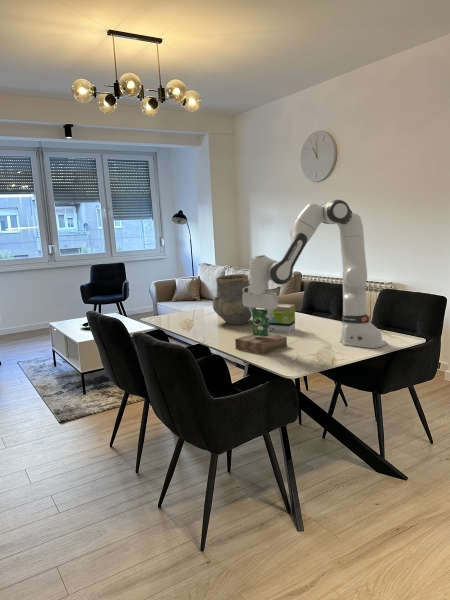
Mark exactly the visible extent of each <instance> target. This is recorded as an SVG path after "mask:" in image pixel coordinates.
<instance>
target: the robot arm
mask: <svg viewBox="0 0 450 600" xmlns="http://www.w3.org/2000/svg"><path fill="white" fill-rule="evenodd" d="M321 224H326V225H335V224H336V225H337V226H338V228H339V236H340V237H339V238H340V252H341V261H342V262H341V263H342V300H343V301H342V315H341V321H342V330H341V335H340V338H339V342H340V343H342V345H343V346H351V347H358V348H359V347H360V348H368V349H369V348H370V349H378V348H381V347H384V346H386V345H387V344H388V343H387V342H388V341H387V340H384V339H383V336H382V332H381V330H380V329H378V328H377V326H375V325H374V324H373V323H372V322H371V321H370V319H371V317H372V316H371V315H370V316H368V314H367V294H366V283H367V280H368V270H367V269H368V268H367V267H368V266H367V258H366V252H365V251H366V249H365V237H364V234H365V233H364V227H363V222H362V218H361V216H360V214H358V213H355V212H353V211H352V210H351V208H350V205H348V203H347V202H346V201H344V200H342V199H333V200H329V201H328V202H325V203H323V204H321V205H319V204H316V203H313V202H312V203H309V204H307V205H306V206H305V207H304V208H303V209H302V210H301V211H300V213H299V214H298V215H297V217H296V219H294V221H293V223H292V225H291V228H290V231H289V236H290V243H289V246H288V247H287V250H286V251H285V253H284V255H283V257H282V258H281V259H280V260H279V261H277V260H276V259H275V260H274V259H272V258H269V257H268V256H267V255H264V254H261V255H256V256H253V257H252V258H251V259H250V263H249V276H250V282H249V285H250V286H248V287H245V288H243V292H244V293H243V297H242V301H243V305H244V306H245V307H249V310H250V312H251V316H252V317H253V311H252V310H253V309H254V308H256V309H264V310H265V309H267V311H268V313H267V314H266V318H270V314H271V312H272V310H274V309H277V308H278V304H279V301H278V293H277V292H276V291H275V289H274V290H273V289H269V286H270V285H269V281H272V282H273V283H275V284H277V285H280V286H281V285H285V284H287V283H288V282H289V281H290V280H291V278H292V277H293V271H294V267H295V265H296V262H297V261H298V259H299V257H300V255H302V252H303V250H304V249H305V247H306V246H307V244H308V243H309V241H310V240H311V238H313V236H314V234H315V233H316V231H317V230H318V228H319V226H320V225H321Z"/></svg>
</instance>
